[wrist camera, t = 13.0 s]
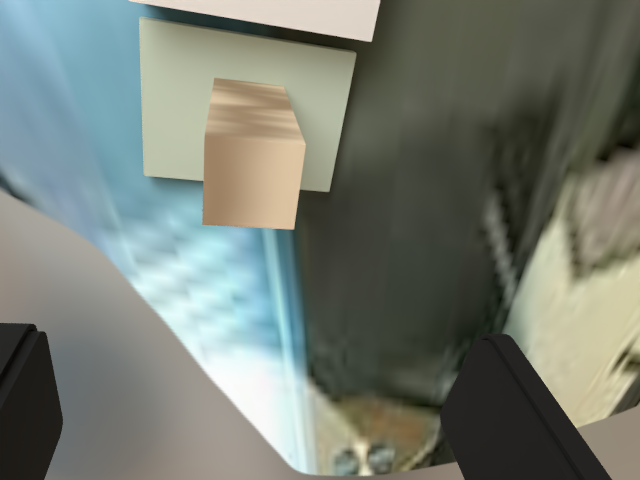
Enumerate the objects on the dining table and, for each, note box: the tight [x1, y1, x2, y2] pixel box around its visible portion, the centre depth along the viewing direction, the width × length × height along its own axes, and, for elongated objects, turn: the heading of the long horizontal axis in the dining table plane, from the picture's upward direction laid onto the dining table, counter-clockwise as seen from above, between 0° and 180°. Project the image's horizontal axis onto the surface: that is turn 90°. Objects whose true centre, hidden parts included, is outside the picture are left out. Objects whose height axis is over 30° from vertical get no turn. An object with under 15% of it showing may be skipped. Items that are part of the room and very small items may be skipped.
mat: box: [139, 16, 357, 192], centre depth 28 cm, size 12×9×1 cm
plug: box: [202, 78, 306, 230], centre depth 23 cm, size 4×4×10 cm
